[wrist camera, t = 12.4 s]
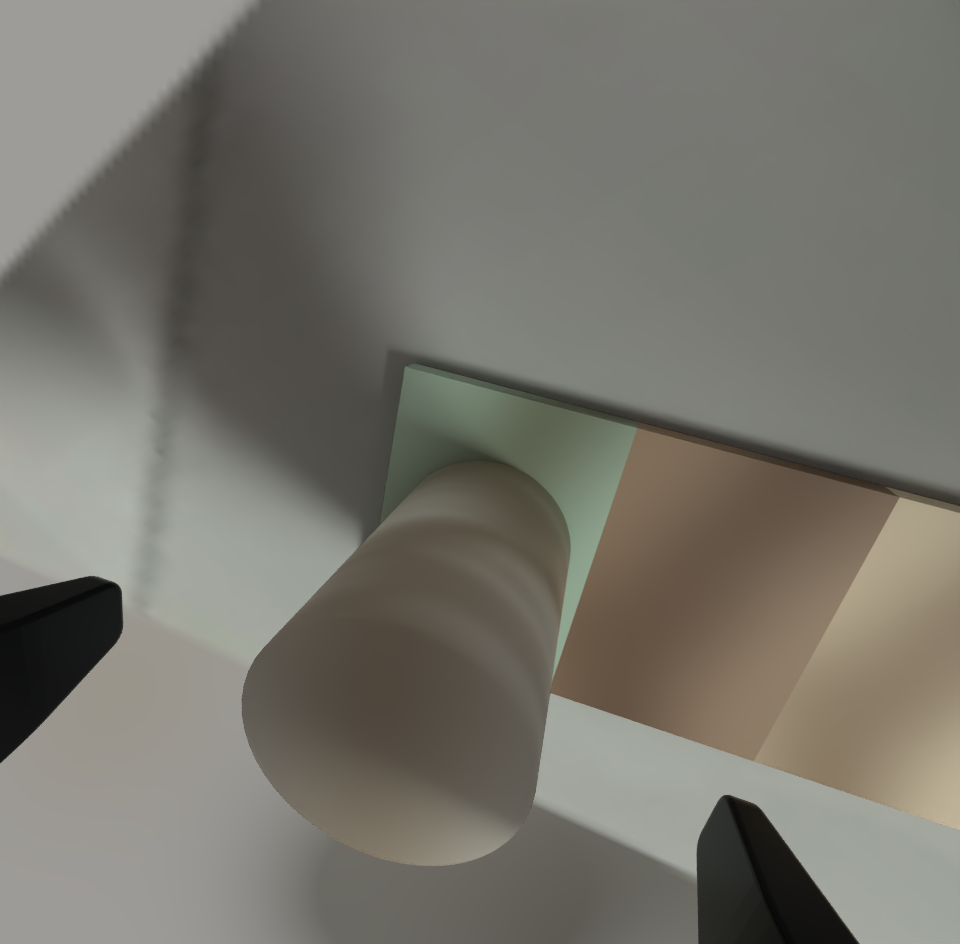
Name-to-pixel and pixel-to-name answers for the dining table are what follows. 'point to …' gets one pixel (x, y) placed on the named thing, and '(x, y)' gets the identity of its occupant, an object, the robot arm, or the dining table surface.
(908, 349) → the dining table surface
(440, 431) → the game track
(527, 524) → the beige cylinder
